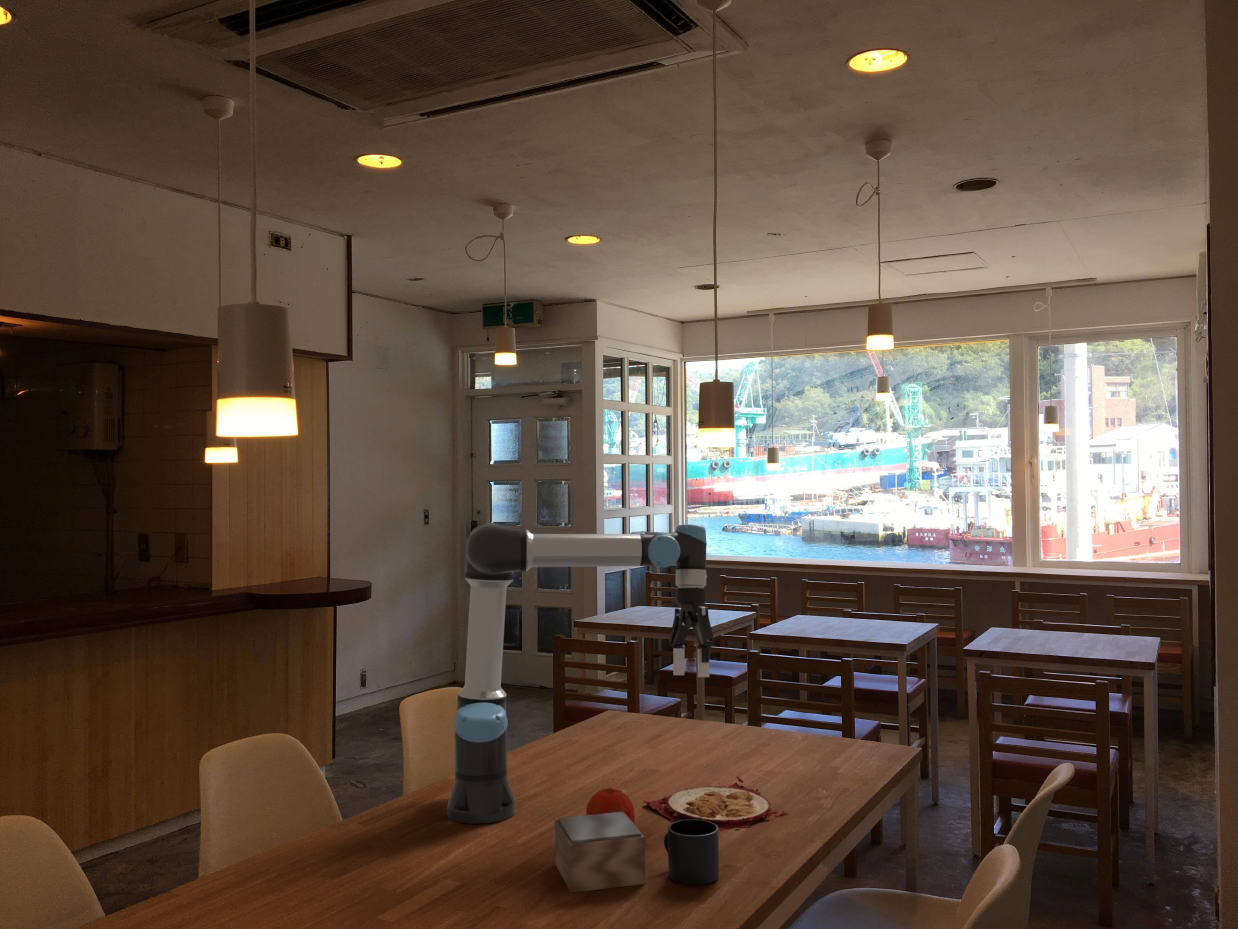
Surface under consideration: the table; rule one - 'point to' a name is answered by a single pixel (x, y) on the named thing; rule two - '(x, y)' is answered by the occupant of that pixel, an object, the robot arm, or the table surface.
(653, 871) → the table surface
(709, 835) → the mug
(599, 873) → the grey square box
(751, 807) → the plate with food
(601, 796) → the apple
